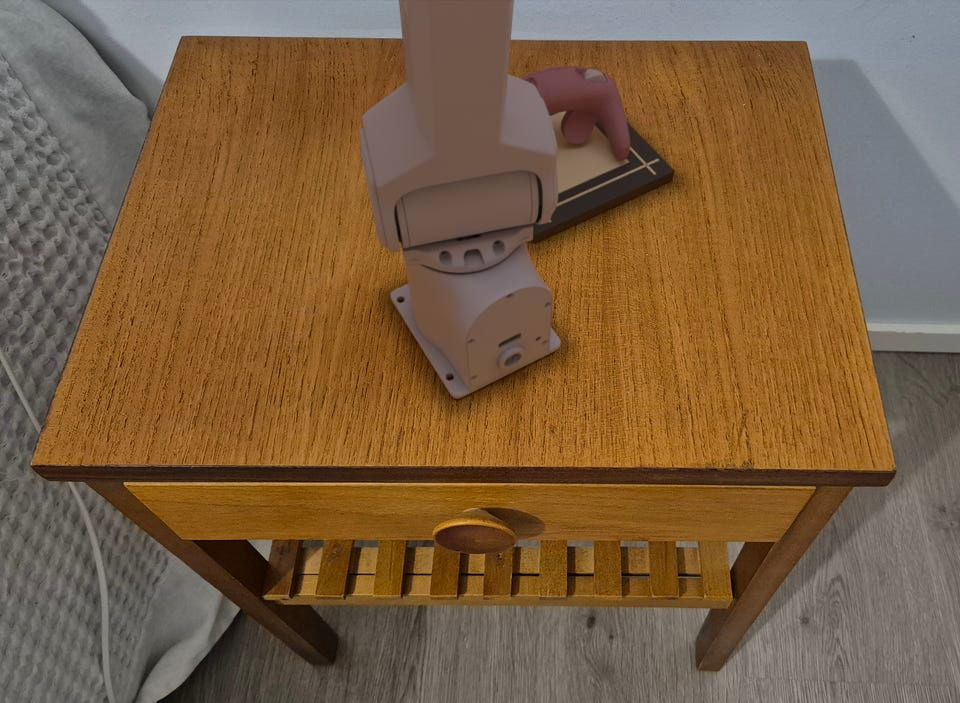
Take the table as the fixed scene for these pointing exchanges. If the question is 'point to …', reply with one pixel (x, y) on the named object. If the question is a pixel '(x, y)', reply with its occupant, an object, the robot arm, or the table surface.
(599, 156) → the board
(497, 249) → the robot arm
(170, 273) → the table surface
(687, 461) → the table surface
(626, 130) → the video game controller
